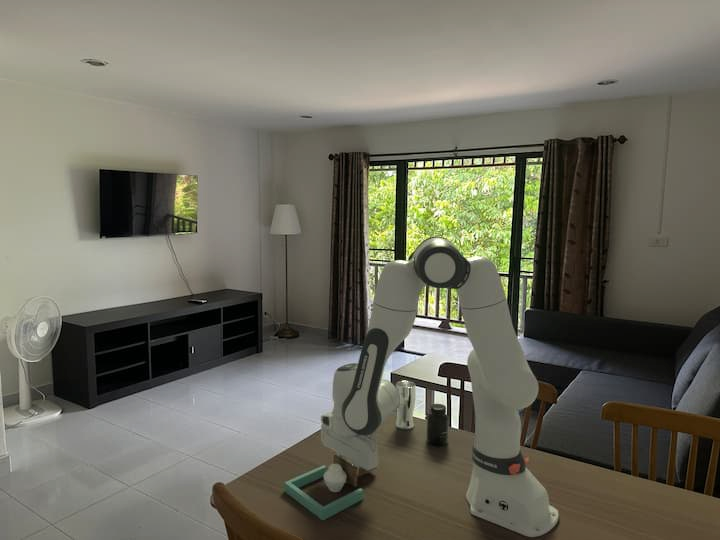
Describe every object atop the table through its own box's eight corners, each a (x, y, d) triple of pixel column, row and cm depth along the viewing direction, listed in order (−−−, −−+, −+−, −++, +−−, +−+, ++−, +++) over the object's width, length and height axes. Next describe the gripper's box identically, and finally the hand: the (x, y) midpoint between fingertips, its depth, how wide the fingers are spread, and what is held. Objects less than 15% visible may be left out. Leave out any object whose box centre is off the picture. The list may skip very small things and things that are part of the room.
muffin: (324, 496, 126) (324, 471, 126) (322, 483, 132) (322, 459, 132) (348, 494, 128) (348, 469, 127) (344, 481, 133) (345, 457, 133)
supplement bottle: (447, 448, 153) (448, 411, 151) (425, 445, 154) (426, 409, 153) (448, 438, 159) (449, 403, 158) (427, 436, 161) (428, 401, 159)
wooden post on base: (384, 472, 136) (384, 455, 135) (354, 486, 128) (354, 468, 128) (362, 459, 142) (362, 443, 142) (333, 472, 135) (333, 455, 134)
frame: (363, 499, 125) (363, 490, 125) (322, 520, 117) (322, 510, 116) (323, 473, 138) (323, 465, 137) (284, 491, 129) (284, 482, 128)
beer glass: (415, 430, 165) (416, 387, 163) (395, 430, 165) (396, 387, 163) (413, 421, 172) (414, 380, 170) (394, 421, 172) (394, 380, 170)
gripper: (384, 432, 125) (383, 483, 127) (334, 408, 141) (334, 453, 142) (366, 440, 121) (365, 492, 123) (316, 414, 136) (317, 461, 138)
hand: (348, 471), depth 133 cm, fingers closed on wooden post on base, 3 cm apart
